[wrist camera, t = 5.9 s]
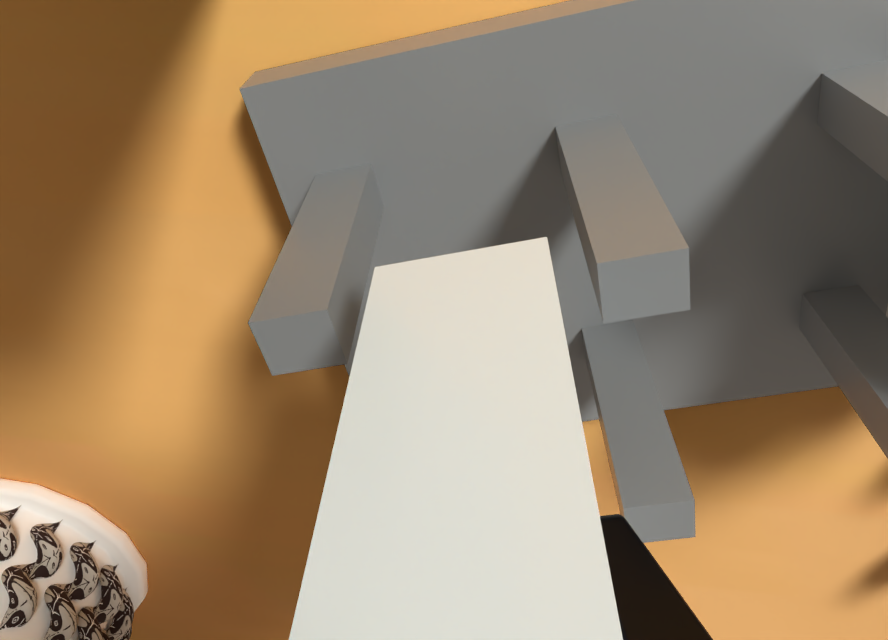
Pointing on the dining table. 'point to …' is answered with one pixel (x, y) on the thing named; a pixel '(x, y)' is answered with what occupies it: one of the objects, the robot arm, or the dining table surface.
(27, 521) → the decorative candle
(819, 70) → the rack
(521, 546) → the white long rectangular block
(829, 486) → the dining table surface
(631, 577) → the robot arm
